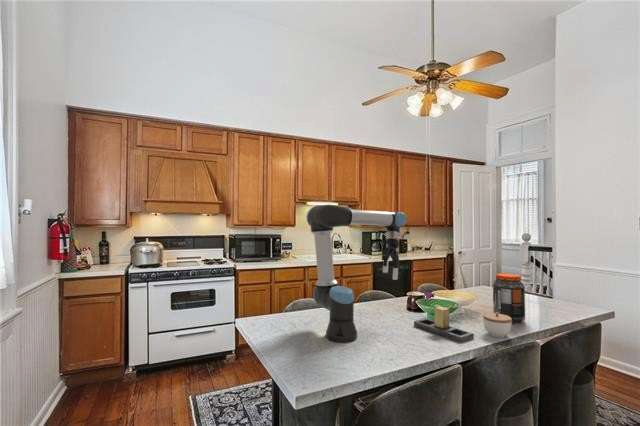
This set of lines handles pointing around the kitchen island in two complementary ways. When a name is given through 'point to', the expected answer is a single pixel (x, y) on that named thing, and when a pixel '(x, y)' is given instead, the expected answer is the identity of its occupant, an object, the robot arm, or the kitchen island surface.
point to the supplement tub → (509, 296)
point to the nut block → (442, 318)
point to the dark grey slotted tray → (444, 331)
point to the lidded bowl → (497, 324)
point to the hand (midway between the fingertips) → (390, 276)
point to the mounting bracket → (428, 294)
